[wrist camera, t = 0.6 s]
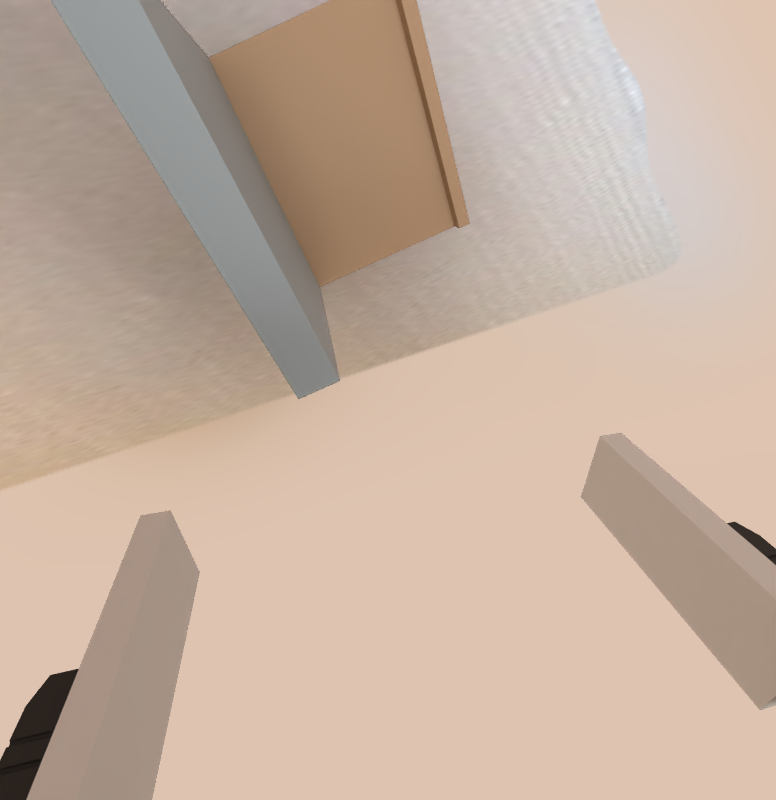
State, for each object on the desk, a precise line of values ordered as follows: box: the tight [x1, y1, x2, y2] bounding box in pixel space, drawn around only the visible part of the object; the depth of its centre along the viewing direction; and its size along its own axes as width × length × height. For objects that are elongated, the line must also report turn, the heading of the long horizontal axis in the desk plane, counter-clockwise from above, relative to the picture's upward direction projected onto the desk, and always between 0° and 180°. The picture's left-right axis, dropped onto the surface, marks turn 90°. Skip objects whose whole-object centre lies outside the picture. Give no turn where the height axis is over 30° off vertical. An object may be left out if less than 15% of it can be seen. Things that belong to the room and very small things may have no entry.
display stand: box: [51, 0, 469, 399], centre depth 21 cm, size 14×14×18 cm
